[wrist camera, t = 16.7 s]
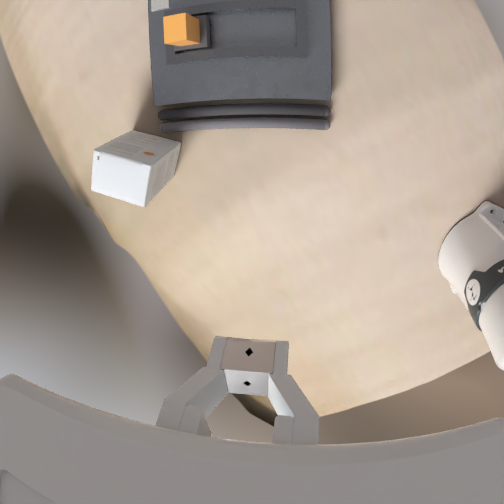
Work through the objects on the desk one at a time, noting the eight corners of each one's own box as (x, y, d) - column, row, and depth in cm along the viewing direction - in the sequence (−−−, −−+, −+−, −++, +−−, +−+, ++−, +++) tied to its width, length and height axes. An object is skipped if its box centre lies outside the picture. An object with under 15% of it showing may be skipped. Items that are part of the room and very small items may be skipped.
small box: (127, 163, 41) (89, 191, 32) (133, 128, 38) (92, 149, 29) (174, 177, 42) (144, 209, 33) (183, 141, 38) (151, 165, 30)
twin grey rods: (330, 105, 33) (331, 106, 32) (329, 129, 35) (330, 131, 34) (159, 110, 36) (155, 111, 35) (162, 131, 38) (158, 134, 37)
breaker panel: (325, -27, 23) (328, -36, 20) (328, 99, 33) (332, 101, 30) (154, -13, 25) (142, -18, 22) (160, 104, 35) (149, 108, 32)
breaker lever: (209, 17, 26) (193, 7, 21) (210, 47, 29) (194, 43, 24) (177, 21, 27) (156, 14, 22) (178, 51, 29) (157, 49, 24)
